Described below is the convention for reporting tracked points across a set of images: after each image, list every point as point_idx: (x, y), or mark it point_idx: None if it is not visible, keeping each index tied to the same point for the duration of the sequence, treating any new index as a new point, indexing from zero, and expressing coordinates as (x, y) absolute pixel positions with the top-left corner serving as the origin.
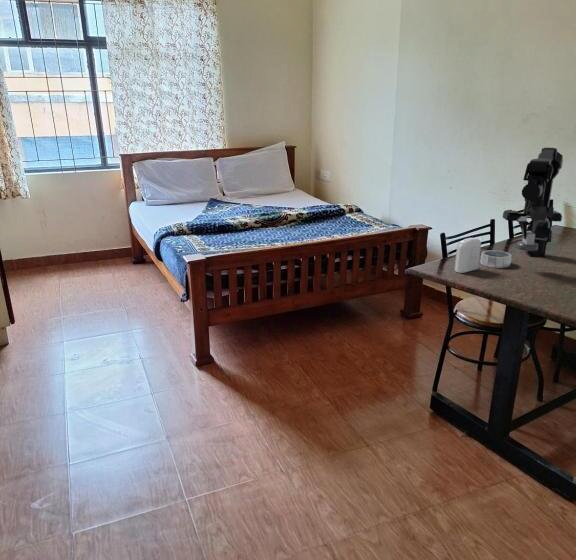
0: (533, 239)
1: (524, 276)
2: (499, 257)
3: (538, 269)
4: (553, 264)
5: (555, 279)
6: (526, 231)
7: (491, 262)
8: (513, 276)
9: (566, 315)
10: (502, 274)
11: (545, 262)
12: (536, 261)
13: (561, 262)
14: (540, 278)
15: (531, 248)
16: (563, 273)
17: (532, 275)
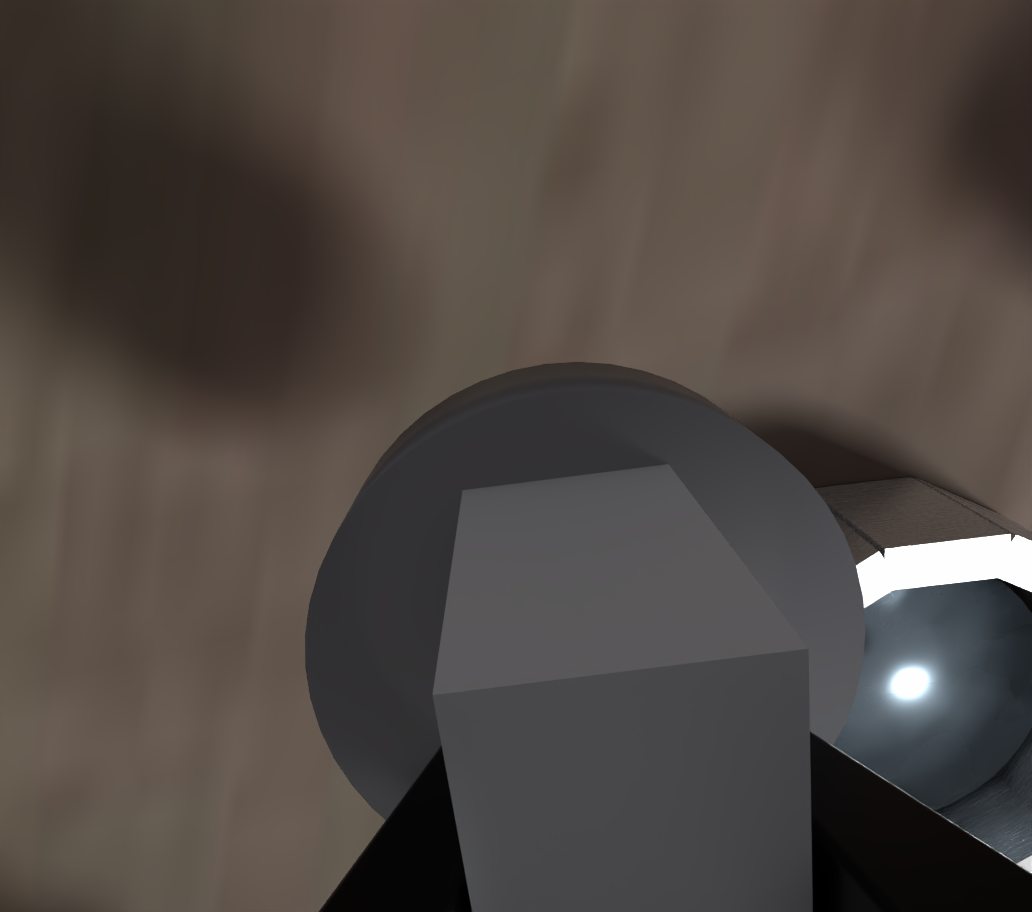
0: (489, 562)
1: (597, 112)
2: (958, 547)
3: (332, 527)
4: (113, 788)
5: (155, 51)
6: (893, 910)
7: (1005, 520)
8: (765, 70)
9: None
10: (905, 147)
11: (201, 847)
12: (305, 864)
13: (10, 887)
14: (374, 53)
15: (527, 380)
16: (16, 409)
17: (466, 198)
